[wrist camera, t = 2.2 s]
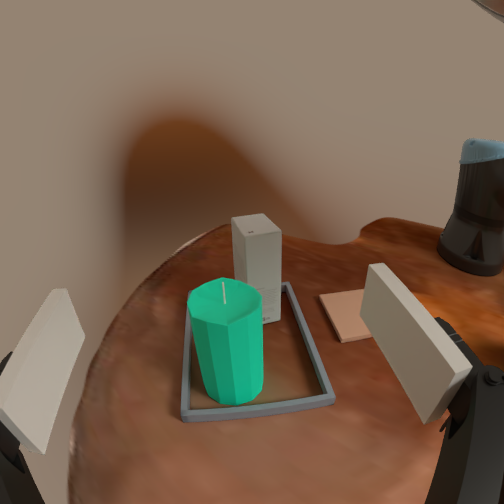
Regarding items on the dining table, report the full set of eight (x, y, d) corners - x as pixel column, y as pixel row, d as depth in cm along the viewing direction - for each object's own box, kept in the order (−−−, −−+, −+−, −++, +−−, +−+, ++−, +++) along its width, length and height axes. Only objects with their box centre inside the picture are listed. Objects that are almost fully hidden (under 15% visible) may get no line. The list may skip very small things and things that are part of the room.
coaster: (376, 290, 42) (377, 286, 42) (406, 329, 34) (407, 325, 34) (319, 298, 41) (319, 294, 41) (341, 342, 33) (342, 339, 33)
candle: (203, 363, 32) (185, 266, 26) (258, 358, 32) (256, 260, 27) (204, 408, 26) (182, 309, 21) (268, 401, 27) (268, 301, 21)
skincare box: (281, 320, 38) (283, 230, 32) (248, 328, 37) (243, 237, 31) (265, 294, 43) (263, 212, 37) (235, 300, 42) (229, 216, 36)
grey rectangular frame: (289, 288, 44) (289, 281, 43) (333, 404, 26) (335, 397, 25) (189, 297, 43) (188, 290, 42) (183, 422, 25) (180, 415, 24)
